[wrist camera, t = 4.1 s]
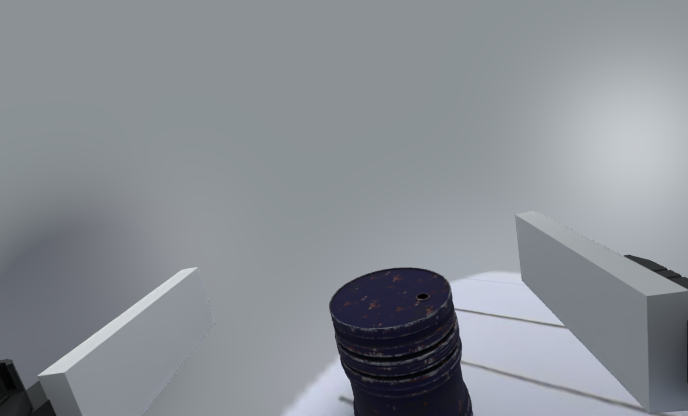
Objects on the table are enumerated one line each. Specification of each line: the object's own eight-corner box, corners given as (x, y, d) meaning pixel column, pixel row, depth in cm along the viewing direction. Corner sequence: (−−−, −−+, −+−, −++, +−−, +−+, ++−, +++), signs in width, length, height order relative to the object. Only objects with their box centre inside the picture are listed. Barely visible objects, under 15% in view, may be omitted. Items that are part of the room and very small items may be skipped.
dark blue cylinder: (344, 476, 29) (302, 320, 26) (391, 392, 37) (363, 265, 34) (463, 529, 24) (429, 339, 21) (489, 418, 32) (466, 268, 29)
